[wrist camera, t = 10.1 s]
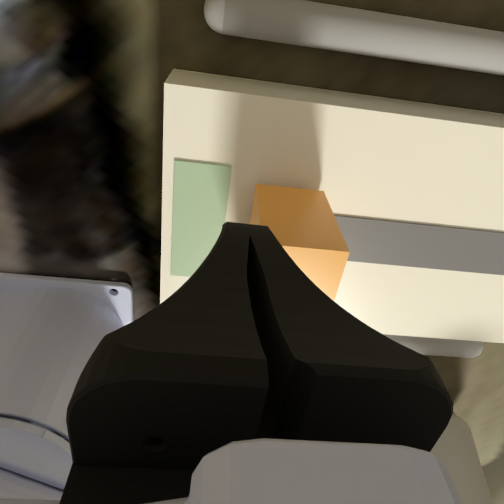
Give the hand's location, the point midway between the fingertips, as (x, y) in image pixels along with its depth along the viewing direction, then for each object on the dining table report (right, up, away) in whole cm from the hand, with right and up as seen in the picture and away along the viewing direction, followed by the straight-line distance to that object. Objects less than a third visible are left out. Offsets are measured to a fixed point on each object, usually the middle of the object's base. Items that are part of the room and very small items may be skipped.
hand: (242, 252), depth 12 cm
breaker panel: (+7, +2, +10) cm, 13 cm away
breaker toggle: (+2, +1, +7) cm, 7 cm away
